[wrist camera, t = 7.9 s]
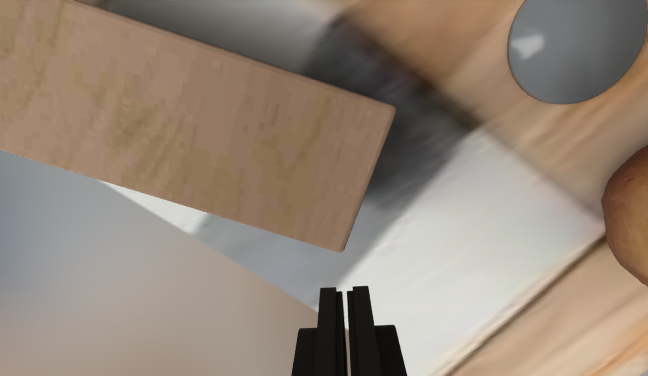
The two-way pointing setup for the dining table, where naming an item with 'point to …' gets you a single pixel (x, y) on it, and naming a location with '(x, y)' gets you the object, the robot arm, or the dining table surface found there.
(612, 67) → the grey dome
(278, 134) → the decorative block
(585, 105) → the dining table surface
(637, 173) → the butternut squash
